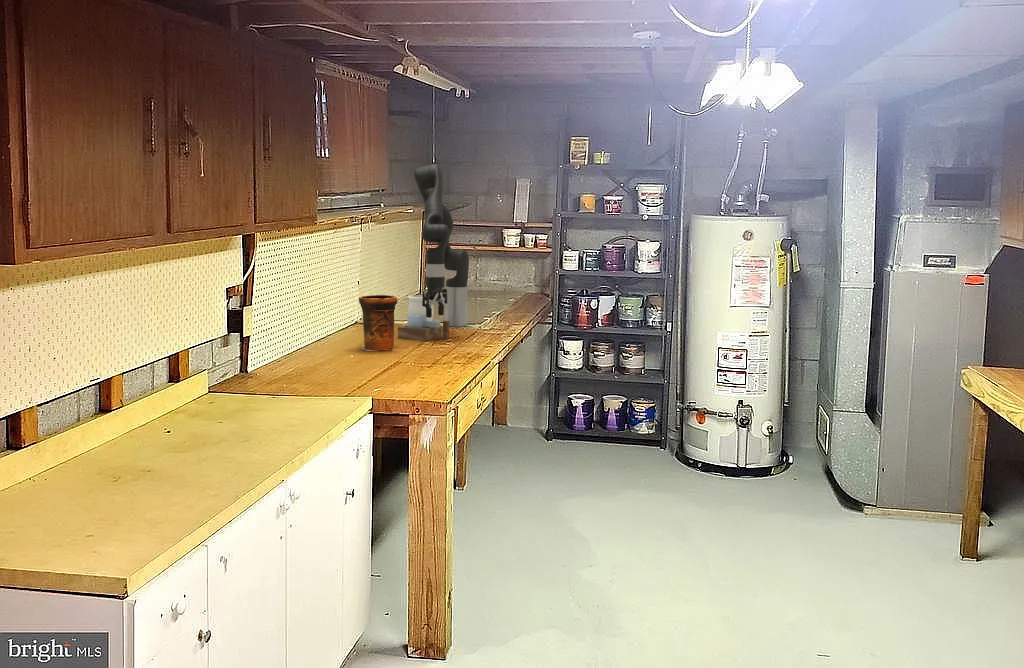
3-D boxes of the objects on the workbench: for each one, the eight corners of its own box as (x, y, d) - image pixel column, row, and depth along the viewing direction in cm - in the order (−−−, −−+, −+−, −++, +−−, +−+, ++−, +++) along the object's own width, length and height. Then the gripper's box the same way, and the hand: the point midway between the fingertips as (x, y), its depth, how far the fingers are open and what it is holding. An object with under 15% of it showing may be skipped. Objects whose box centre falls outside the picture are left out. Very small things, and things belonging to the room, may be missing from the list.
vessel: (365, 352, 364) (365, 298, 361) (354, 347, 377) (354, 295, 374) (403, 350, 370) (402, 297, 368) (391, 345, 383) (390, 294, 380)
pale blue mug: (403, 337, 395) (402, 315, 393) (416, 335, 401) (416, 313, 400) (432, 341, 386) (432, 318, 385) (445, 339, 393) (445, 316, 391)
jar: (435, 330, 420) (435, 295, 418) (431, 333, 410) (431, 298, 408) (411, 329, 421) (410, 294, 419) (406, 333, 411) (405, 297, 409)
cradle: (415, 335, 405) (415, 316, 404) (454, 339, 396) (454, 320, 395) (396, 340, 393) (395, 320, 392) (435, 344, 384) (435, 324, 383)
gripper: (437, 273, 396) (437, 313, 399) (416, 276, 384) (416, 317, 386) (453, 274, 393) (452, 315, 395) (433, 277, 380) (432, 319, 383)
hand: (434, 316), depth 391 cm, fingers open, 8 cm apart
